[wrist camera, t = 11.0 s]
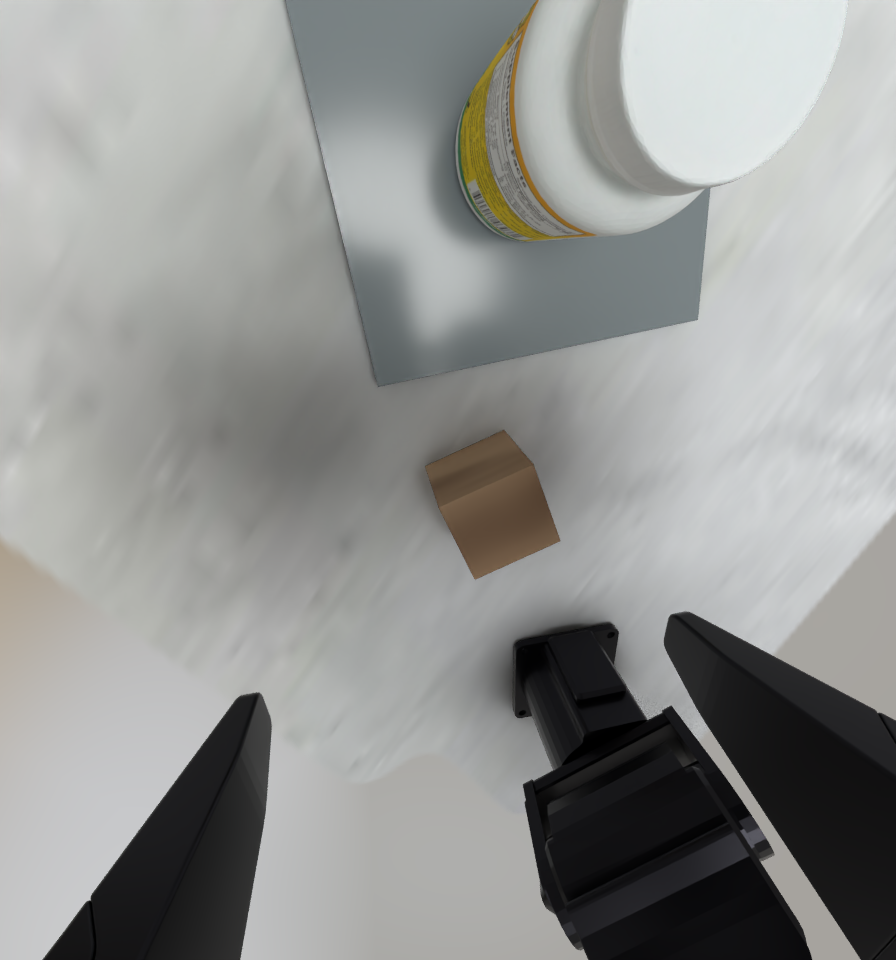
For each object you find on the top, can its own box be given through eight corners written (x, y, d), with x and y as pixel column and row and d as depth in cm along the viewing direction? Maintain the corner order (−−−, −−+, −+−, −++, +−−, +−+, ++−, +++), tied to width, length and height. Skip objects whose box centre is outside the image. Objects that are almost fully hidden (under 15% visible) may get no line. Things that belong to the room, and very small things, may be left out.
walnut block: (528, 496, 23) (560, 540, 19) (456, 529, 23) (474, 579, 19) (503, 429, 21) (533, 464, 17) (424, 465, 21) (438, 507, 17)
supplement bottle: (455, 245, 16) (561, 236, 8) (449, 50, 14) (595, -262, 6) (593, 239, 17) (824, 225, 9) (611, 54, 15) (955, -216, 6)
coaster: (688, 318, 20) (697, 319, 19) (377, 383, 19) (377, 386, 18) (730, -170, 13) (745, -187, 13) (257, -120, 12) (252, -137, 12)
